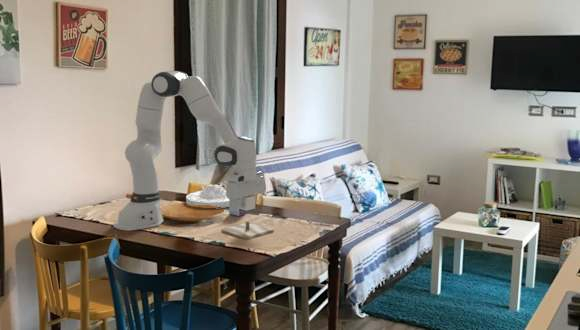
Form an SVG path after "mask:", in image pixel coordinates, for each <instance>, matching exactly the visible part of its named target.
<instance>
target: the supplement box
mask: <svg viewBox="0 0 580 330" xmlns="http://www.w3.org/2000/svg"><path fill="white" fill-rule="evenodd" d="M228 209H229V211H228V213H229V214H228V215H229V216H232V217H241V216H244V215H245V216H246V214H245V213H241V212H239V203H238V202H237V200H236V199H234V200H231V199H229V207H228Z"/></svg>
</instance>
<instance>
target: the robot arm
mask: <svg viewBox="0 0 580 330" xmlns="http://www.w3.org/2000/svg"><path fill="white" fill-rule="evenodd" d="M177 96H181V97H182V98H183V99H184V101H185V103H186V105H187V107H188V109H189V111H190V113H191V114H192V115H193V117H195V119H196V120H198V121H200V122H203V123H206V124H208V125H211V126H212V127H213V128H214V129H215V130H216V131H217V133H218V135H219V136H220V138H221V140H222V141H223V144H221V145H219V146H217V147H216V148H215V149H214V153H213V156H214V157H213V158H214V161H215V162H216V164H217V165H219V166H221V167H231V166H235V170H234V171H233V172H231V173H229V174H228V175H226V181H227V183H226V185H225V190H226V197H227V198H228V199H231V200H234V199H236V200H237V202H238V203H239V207H240V208H242V207H244V203H242V201H241V200H242V198H243V197H247V196H251V195H253V196H255V201H256V200H257V198H258V195H259V194H263V193H264V194H265V193H266V191H267V183H266V179H265V174H264V172H263V171H257V161H256V160H257V147H256V146H257V145H256V141H255V140H254V139H253V138H252V137H249V136H245V135H244V136H243V135H242V136H240V135H239V136H238V135H237V134H236V132H235V131H234V129H233V127H232V126H231V124H230V123H229V122H230V121H228V119H227V118H226V116H225V114H224V113H223V112H222V110H221V109H220V108H219V106H218V105H217V102H216V101H215V99H214V98H213V96H212V94H211V92H210V90H209V88H208V87H207V85H206V84H205V83H204V81H203V80H202V78H201V77H199V76H197V75H191V76H189V75H188V74H187V73H185V72H184V71H181V70H167V71H161V72H160V71H159V73H156V74H155V75H154V76H153V77H152V80H151V81H148V82H146V83H145V84H143V85H142V88H141V90H140V93H139V98H138V103H137V109H136V115H135V121H134V123H135V125H136V132H137V133H136V134H137V138H136V139H135V140H131V141H130V142H129V144H128V145H127V146H126V148H125V151H124V155H125V158H126V160H127V162H128V164H129V168H130V170H131V175H132V184H133V185H132V186H133V187H132V188H133V192H132V193H131V194H130V193H126V195H125V197H126V199H129V202H128V203H127V204H126V205H125V206H124V207H122V208H121V210H120V211H119V213H118V216H117V221H115V222H113V224H112V226H113V227H114V228H115V229H117V230H121V231H126V232H131V231H136V230H143V229H149V228H153V227H159V226H162V223H163V222H164V218H163V215H162V211H161V205H160V199H161V197H160V189H159V175H158V172H157V171H156V168H155V164H154V159H156V158H157V157H158V156H159V155H160V154H161V152H162V150H163V143H162V134H161V133H162V131H161V128H162V127H161V126H162V120H163V113H164V108H165V107H164V106H165V100H166V99H167V98H171V97H172V98H173V97H177Z"/></svg>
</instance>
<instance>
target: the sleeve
mask: <svg viewBox="0 0 580 330" xmlns="http://www.w3.org/2000/svg"><path fill="white" fill-rule="evenodd" d="M241 201H242V203H244V207H242V208H240V207H239V212H241V213H245V215H248V214H252V213H256V200H255V196H253V195H251V196H247V197H243V198H242V200H241Z"/></svg>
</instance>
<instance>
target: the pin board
mask: <svg viewBox="0 0 580 330" xmlns="http://www.w3.org/2000/svg"><path fill="white" fill-rule="evenodd" d="M274 231H275V229H274V228H271V227H268V226H264V225H259V224H257V223H254V222H249V221H246V222H245V223H240V224H238V225H233V226H229V227H226V228H222V229H221V232H222V233H223V234H227V235H230V236H234V237H237V238H241V239H243V240H250V239H253V238H257V237H260V236H263V235H266V234H267V235H268V234H270V233H272V232H274Z"/></svg>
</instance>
